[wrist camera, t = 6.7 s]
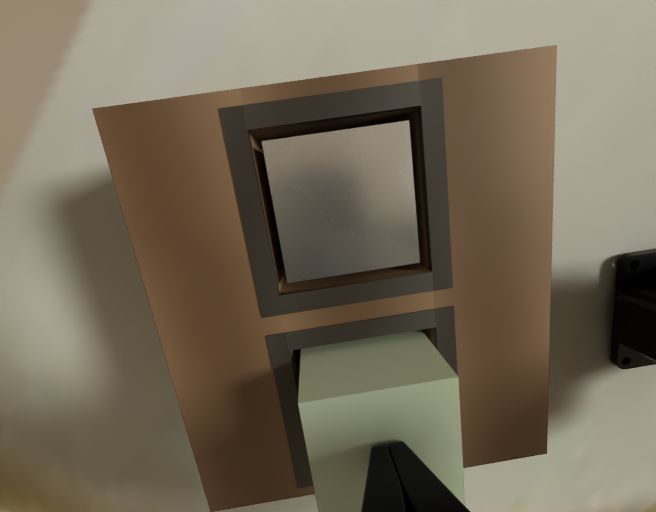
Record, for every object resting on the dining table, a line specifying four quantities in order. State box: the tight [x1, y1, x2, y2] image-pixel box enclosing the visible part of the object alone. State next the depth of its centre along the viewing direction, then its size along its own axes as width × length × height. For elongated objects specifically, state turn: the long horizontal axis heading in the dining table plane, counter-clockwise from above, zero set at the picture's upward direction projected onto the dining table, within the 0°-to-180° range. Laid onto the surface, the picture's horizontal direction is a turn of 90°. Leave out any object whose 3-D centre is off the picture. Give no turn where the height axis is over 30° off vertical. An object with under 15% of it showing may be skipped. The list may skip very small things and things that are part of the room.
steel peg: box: [262, 120, 420, 283], centre depth 11 cm, size 4×4×6 cm
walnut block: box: [92, 45, 557, 512], centre depth 12 cm, size 12×13×6 cm
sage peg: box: [298, 330, 465, 512], centre depth 11 cm, size 4×4×6 cm
